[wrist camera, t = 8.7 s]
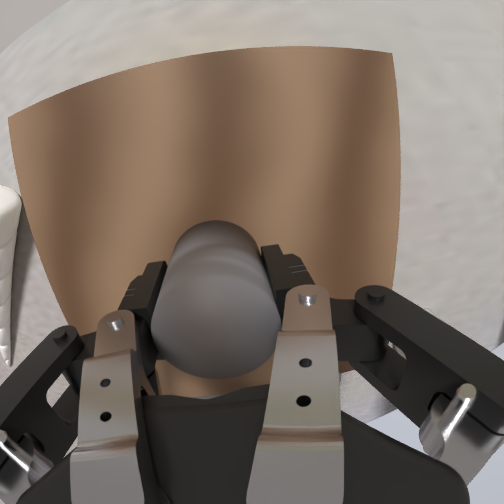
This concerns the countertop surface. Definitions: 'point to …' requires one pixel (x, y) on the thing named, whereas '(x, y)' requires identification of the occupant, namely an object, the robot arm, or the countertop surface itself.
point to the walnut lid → (214, 195)
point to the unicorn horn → (7, 262)
